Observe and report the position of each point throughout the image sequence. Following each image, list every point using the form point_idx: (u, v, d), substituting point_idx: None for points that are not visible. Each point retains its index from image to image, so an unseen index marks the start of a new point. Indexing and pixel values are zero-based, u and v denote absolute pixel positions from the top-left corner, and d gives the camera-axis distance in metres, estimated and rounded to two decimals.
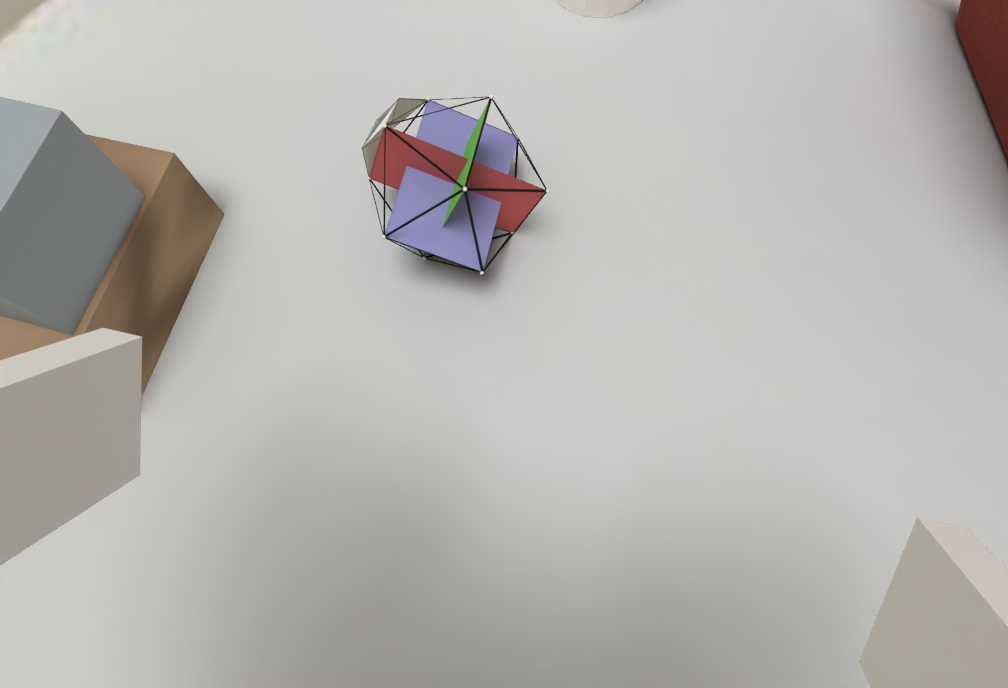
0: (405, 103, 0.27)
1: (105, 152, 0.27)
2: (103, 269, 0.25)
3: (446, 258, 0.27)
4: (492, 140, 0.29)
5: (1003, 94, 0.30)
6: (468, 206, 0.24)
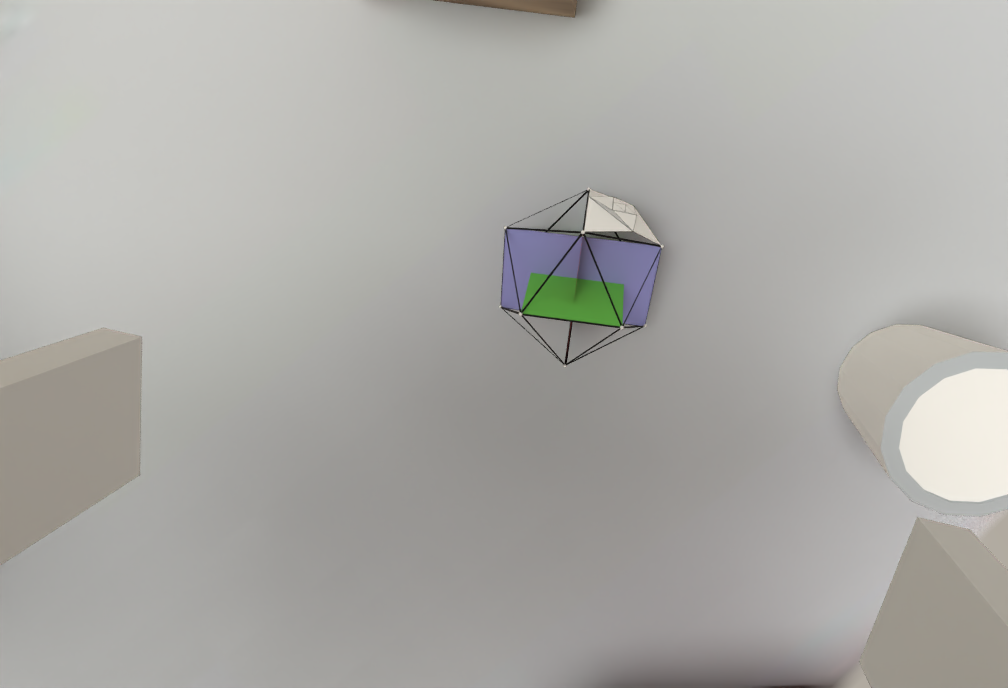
0: (640, 232, 0.27)
1: None
2: None
3: (503, 278, 0.30)
4: (634, 305, 0.30)
5: None
6: (516, 312, 0.28)
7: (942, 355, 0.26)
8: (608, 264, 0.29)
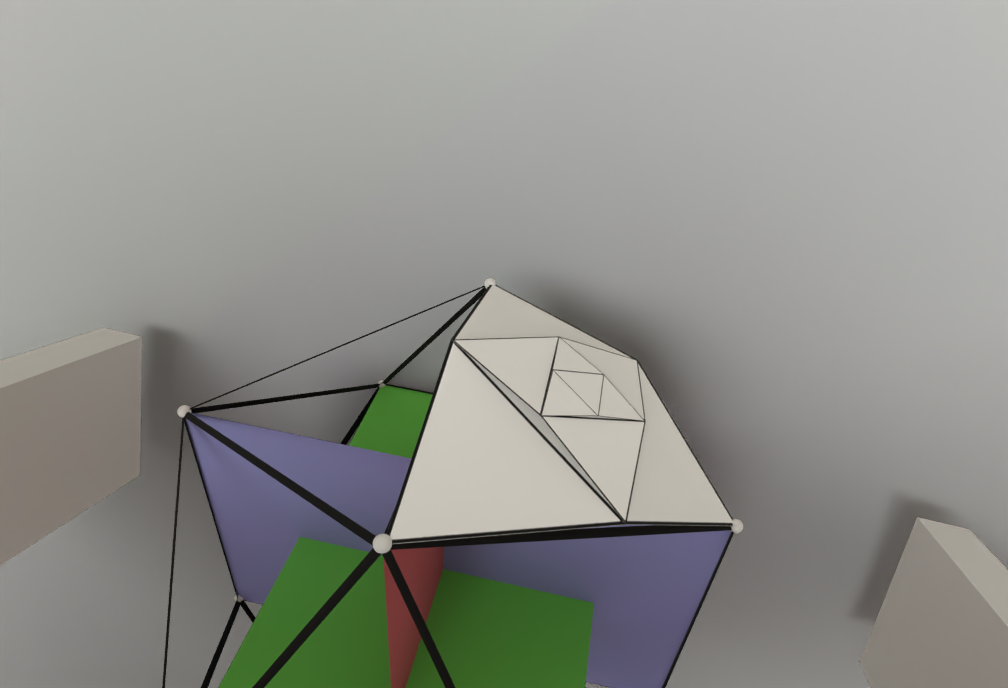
0: (658, 498, 0.07)
1: None
2: None
3: (223, 540, 0.10)
4: (626, 652, 0.09)
5: None
6: None
7: None
8: (542, 548, 0.08)
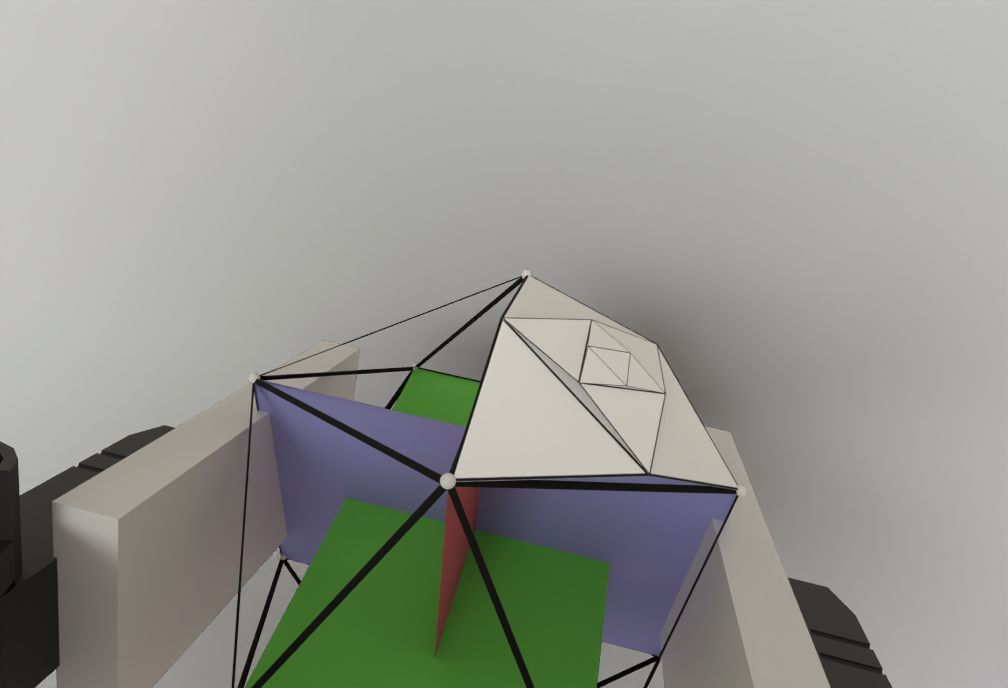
0: (676, 460, 0.08)
1: None
2: None
3: None
4: (637, 611, 0.10)
5: None
6: (243, 674, 0.09)
7: None
8: (565, 510, 0.09)
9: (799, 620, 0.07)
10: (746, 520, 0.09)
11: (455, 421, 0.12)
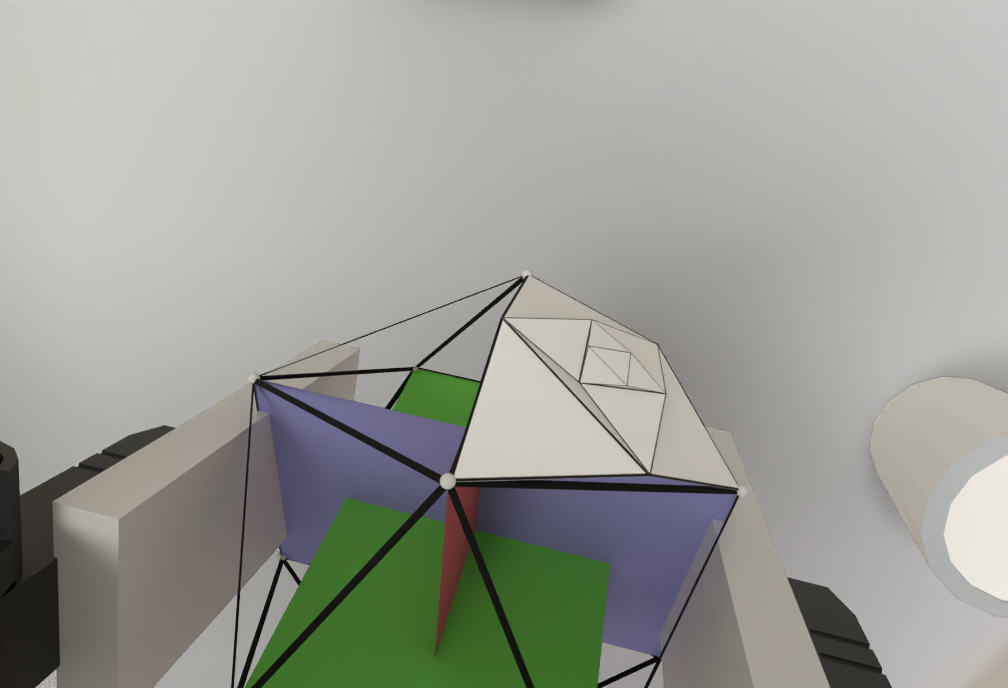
0: (676, 460, 0.08)
1: None
2: None
3: None
4: (637, 612, 0.10)
5: None
6: (243, 674, 0.08)
7: (1003, 426, 0.21)
8: (566, 511, 0.09)
9: (799, 620, 0.07)
10: (746, 520, 0.09)
11: (455, 421, 0.12)
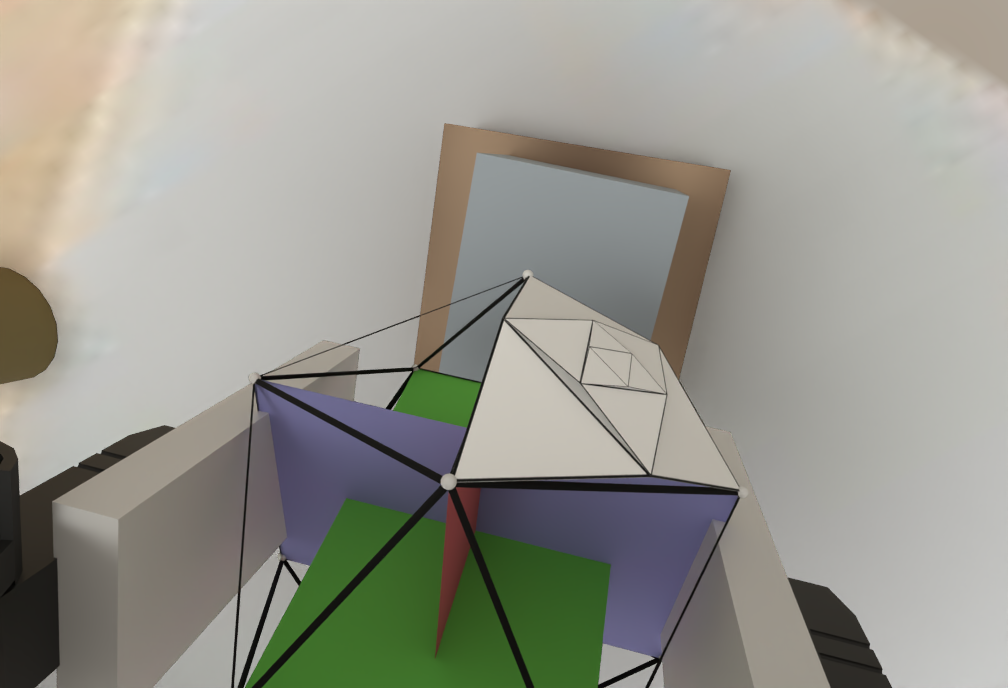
0: (677, 461, 0.08)
1: None
2: None
3: None
4: (638, 613, 0.10)
5: None
6: (243, 675, 0.08)
7: None
8: (567, 511, 0.09)
9: (798, 620, 0.07)
10: (746, 520, 0.09)
11: (455, 421, 0.12)
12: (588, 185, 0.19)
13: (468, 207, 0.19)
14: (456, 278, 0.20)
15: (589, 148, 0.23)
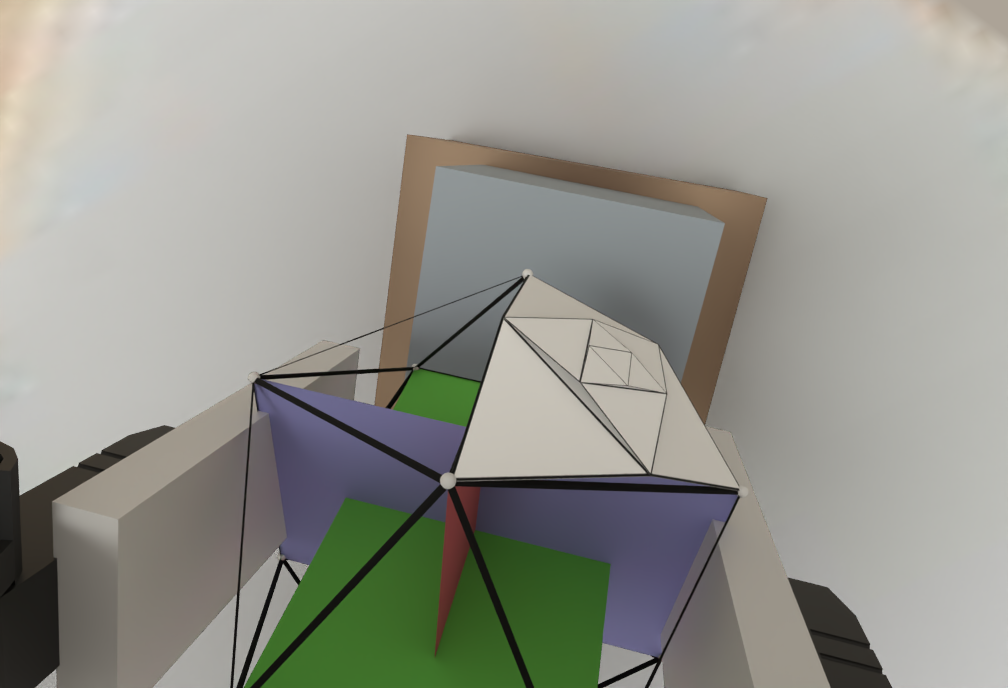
0: (678, 460, 0.08)
1: None
2: None
3: None
4: (637, 612, 0.10)
5: None
6: (242, 674, 0.08)
7: None
8: (566, 510, 0.09)
9: (799, 620, 0.07)
10: (746, 520, 0.09)
11: (455, 421, 0.12)
12: (587, 209, 0.14)
13: (426, 239, 0.14)
14: (413, 332, 0.15)
15: (588, 168, 0.18)
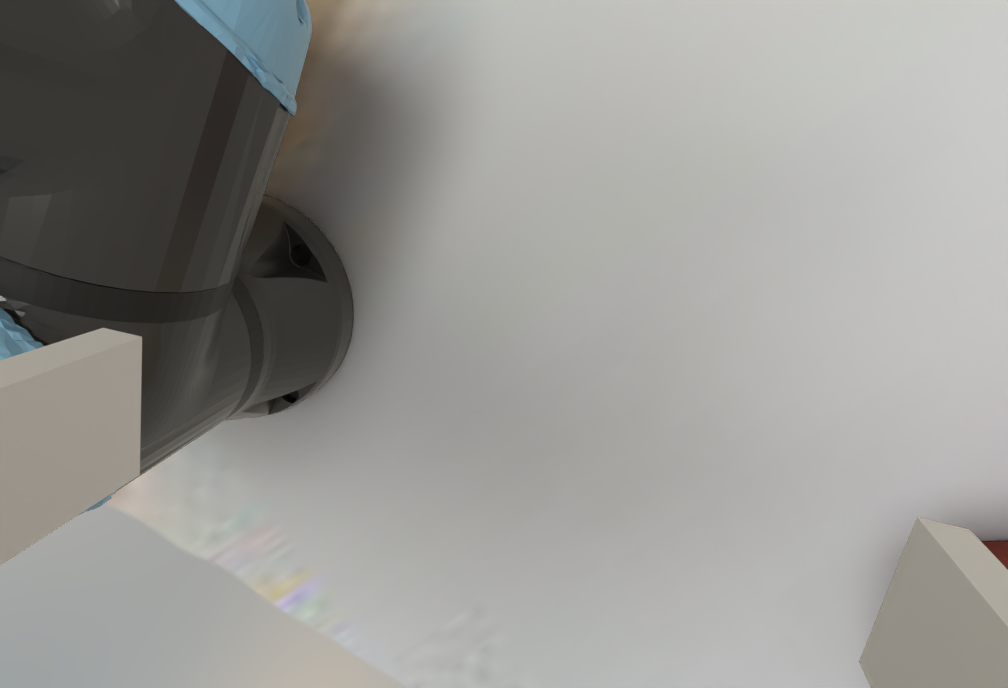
0: None
1: None
2: None
3: None
4: None
5: None
6: None
7: None
8: None
9: None
10: None
11: None
12: None
13: None
14: None
15: None
